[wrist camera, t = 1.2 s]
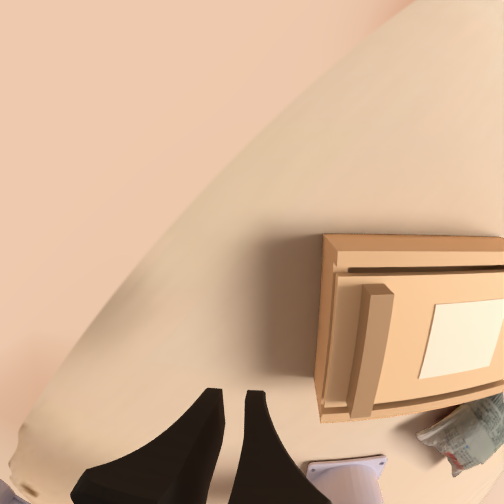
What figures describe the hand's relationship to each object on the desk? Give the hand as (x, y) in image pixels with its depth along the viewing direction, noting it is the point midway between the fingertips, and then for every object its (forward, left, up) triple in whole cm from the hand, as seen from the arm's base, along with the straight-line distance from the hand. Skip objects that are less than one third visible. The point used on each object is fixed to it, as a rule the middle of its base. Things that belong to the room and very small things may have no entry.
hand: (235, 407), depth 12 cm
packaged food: (-14, -21, -10) cm, 27 cm away
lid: (0, -12, -5) cm, 13 cm away
